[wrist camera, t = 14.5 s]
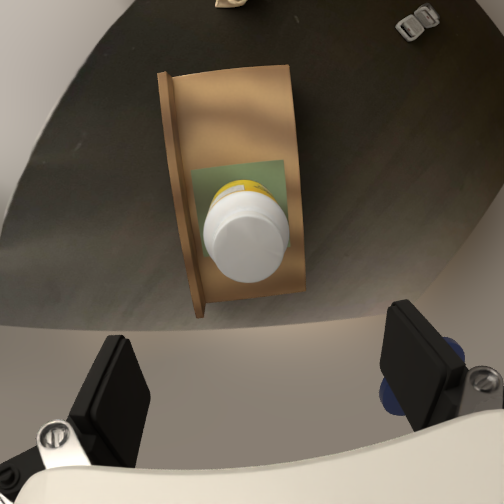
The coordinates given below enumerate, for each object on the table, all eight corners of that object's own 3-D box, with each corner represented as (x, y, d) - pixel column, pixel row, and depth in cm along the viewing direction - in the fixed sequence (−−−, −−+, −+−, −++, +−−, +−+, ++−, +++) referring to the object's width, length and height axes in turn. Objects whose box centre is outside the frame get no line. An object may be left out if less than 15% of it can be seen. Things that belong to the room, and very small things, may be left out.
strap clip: (407, 44, 31) (424, 37, 27) (392, 26, 30) (408, 17, 26) (439, 18, 29) (456, 12, 25) (425, 2, 28) (441, -6, 24)
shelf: (296, 269, 41) (312, 304, 32) (202, 280, 41) (196, 318, 32) (280, 75, 32) (294, 57, 24) (174, 87, 32) (157, 73, 24)
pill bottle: (278, 236, 33) (302, 288, 22) (215, 245, 33) (208, 302, 22) (271, 173, 30) (294, 195, 19) (205, 182, 30) (190, 209, 19)
